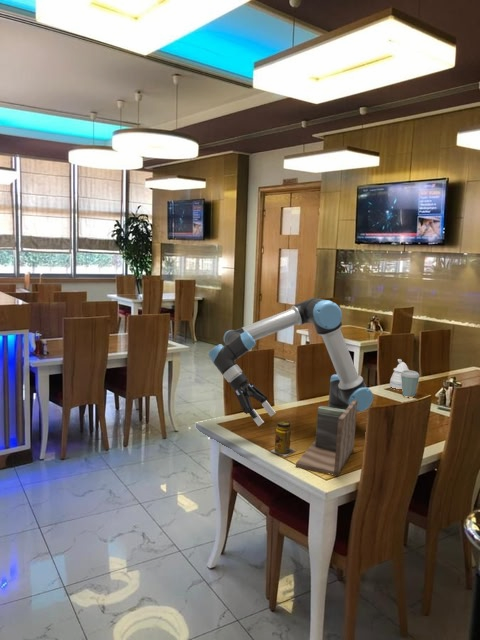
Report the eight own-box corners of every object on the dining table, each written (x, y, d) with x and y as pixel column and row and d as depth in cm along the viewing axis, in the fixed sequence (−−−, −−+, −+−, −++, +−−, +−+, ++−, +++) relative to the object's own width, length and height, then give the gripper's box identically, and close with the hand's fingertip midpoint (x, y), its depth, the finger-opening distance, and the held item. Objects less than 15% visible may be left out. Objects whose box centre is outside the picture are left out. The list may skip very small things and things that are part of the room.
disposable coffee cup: (420, 399, 286) (422, 374, 284) (401, 398, 286) (404, 373, 284) (414, 394, 297) (416, 370, 295) (396, 393, 297) (398, 369, 295)
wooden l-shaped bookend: (315, 442, 212) (319, 393, 209) (353, 450, 206) (357, 400, 203) (295, 466, 187) (299, 411, 184) (337, 476, 180) (342, 419, 177)
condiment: (270, 451, 200) (271, 422, 199) (282, 445, 207) (284, 418, 205) (284, 456, 196) (286, 427, 194) (296, 451, 202) (298, 422, 200)
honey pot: (391, 389, 306) (393, 361, 303) (388, 384, 318) (391, 357, 316) (412, 391, 304) (415, 363, 301) (409, 386, 316) (411, 358, 314)
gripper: (242, 377, 219) (271, 416, 215) (216, 389, 196) (249, 433, 192) (253, 366, 216) (284, 406, 212) (229, 378, 193) (262, 423, 189)
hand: (267, 419), depth 202 cm, fingers open, 13 cm apart
